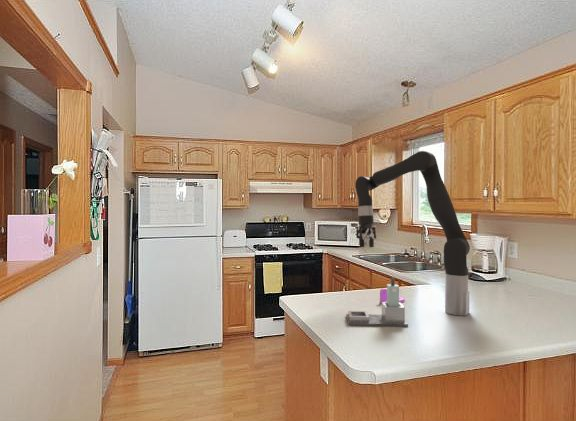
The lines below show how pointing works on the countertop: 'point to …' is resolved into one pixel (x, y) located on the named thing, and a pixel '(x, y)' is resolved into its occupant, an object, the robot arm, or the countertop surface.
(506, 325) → the countertop surface
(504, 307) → the countertop surface
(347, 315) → the dark gray base plate
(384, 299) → the bracket
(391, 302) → the grey bottle
